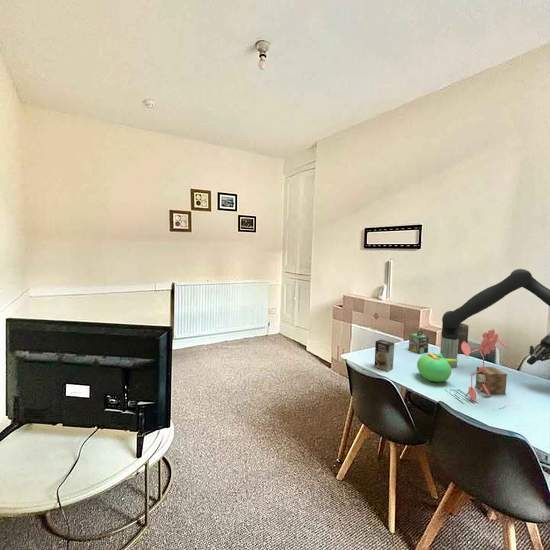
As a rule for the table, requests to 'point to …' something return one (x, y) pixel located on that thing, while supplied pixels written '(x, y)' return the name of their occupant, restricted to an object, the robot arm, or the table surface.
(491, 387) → the bushing block
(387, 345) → the coffee box
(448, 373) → the green rounded lump
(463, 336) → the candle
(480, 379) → the plunger peg
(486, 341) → the pink flower sprig
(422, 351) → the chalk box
